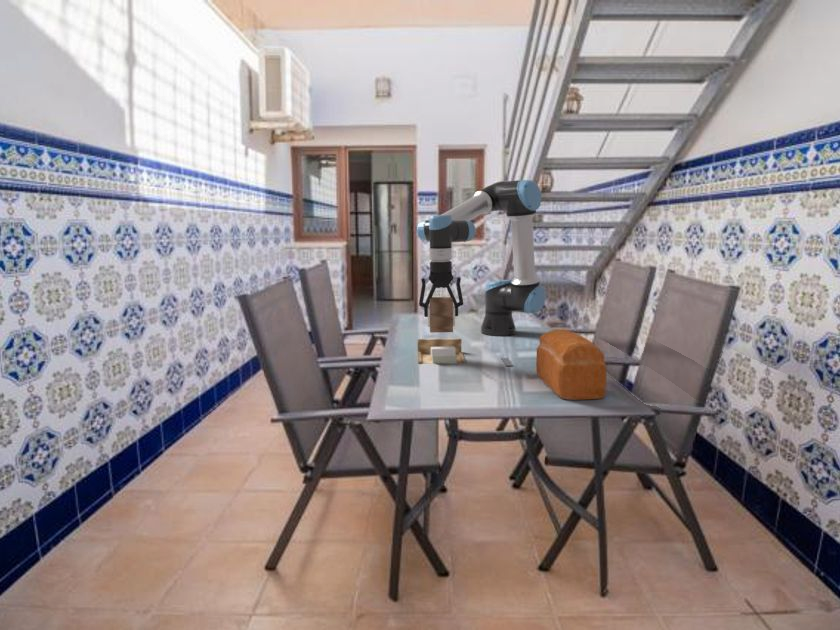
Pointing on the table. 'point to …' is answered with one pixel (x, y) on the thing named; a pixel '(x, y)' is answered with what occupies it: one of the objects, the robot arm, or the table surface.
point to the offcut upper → (443, 351)
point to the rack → (426, 345)
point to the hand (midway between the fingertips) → (441, 325)
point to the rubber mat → (506, 362)
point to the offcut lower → (444, 359)
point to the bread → (571, 365)
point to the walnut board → (441, 314)
